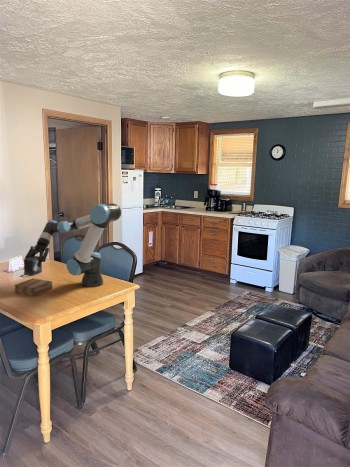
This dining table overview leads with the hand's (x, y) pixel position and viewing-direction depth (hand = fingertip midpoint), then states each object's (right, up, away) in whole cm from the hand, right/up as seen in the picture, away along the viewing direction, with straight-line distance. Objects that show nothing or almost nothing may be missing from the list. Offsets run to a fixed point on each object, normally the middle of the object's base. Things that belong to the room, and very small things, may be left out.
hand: (29, 269), depth 218 cm
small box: (+1, -3, +4) cm, 5 cm away
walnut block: (+1, -15, +6) cm, 16 cm away
